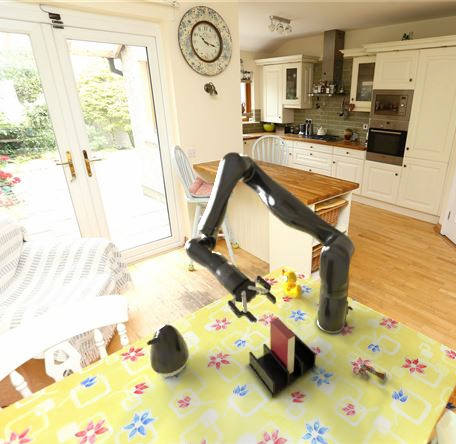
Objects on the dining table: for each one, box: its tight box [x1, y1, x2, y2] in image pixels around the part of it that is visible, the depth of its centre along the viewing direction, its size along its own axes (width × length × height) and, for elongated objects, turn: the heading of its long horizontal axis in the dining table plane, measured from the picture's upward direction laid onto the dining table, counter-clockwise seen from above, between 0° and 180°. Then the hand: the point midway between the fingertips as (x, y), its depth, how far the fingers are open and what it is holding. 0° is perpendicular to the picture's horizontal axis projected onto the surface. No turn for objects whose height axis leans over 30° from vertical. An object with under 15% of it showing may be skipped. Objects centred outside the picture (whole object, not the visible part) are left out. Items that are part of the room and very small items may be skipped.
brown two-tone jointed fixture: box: [355, 362, 388, 383], centre depth 82 cm, size 2×8×4 cm, turn 81°
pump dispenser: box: [146, 323, 190, 378], centre depth 81 cm, size 10×10×15 cm
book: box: [269, 317, 296, 374], centre depth 82 cm, size 3×8×14 cm, turn 37°
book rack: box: [248, 330, 317, 398], centre depth 84 cm, size 16×12×6 cm
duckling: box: [281, 269, 303, 299], centre depth 114 cm, size 11×5×10 cm, turn 39°
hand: (266, 311), depth 91 cm, fingers open, 8 cm apart
